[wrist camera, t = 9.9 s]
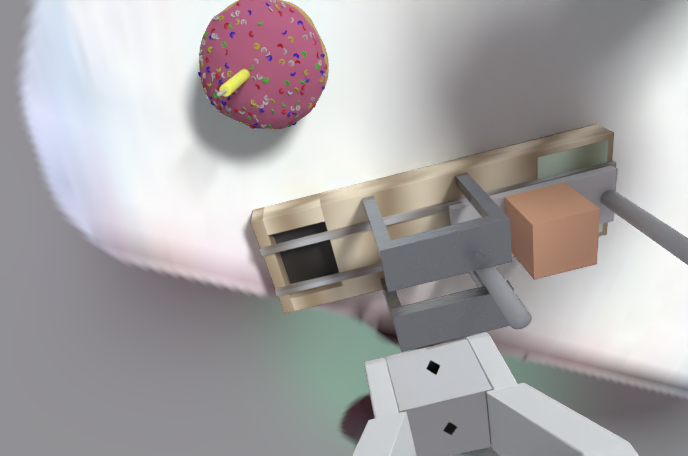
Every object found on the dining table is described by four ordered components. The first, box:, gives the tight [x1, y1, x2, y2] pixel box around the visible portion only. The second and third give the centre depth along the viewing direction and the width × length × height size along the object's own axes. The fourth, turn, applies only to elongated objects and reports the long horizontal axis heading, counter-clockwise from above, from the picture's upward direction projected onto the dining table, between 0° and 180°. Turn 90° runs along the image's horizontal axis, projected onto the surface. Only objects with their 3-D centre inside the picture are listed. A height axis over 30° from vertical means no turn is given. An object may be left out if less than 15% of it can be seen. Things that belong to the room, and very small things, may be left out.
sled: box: [449, 165, 688, 329], centre depth 34 cm, size 14×5×12 cm, turn 102°
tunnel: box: [362, 172, 513, 352], centre depth 37 cm, size 9×10×8 cm
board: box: [251, 125, 616, 313], centre depth 41 cm, size 31×10×3 cm, turn 102°
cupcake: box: [198, 0, 328, 130], centre depth 29 cm, size 9×8×12 cm
